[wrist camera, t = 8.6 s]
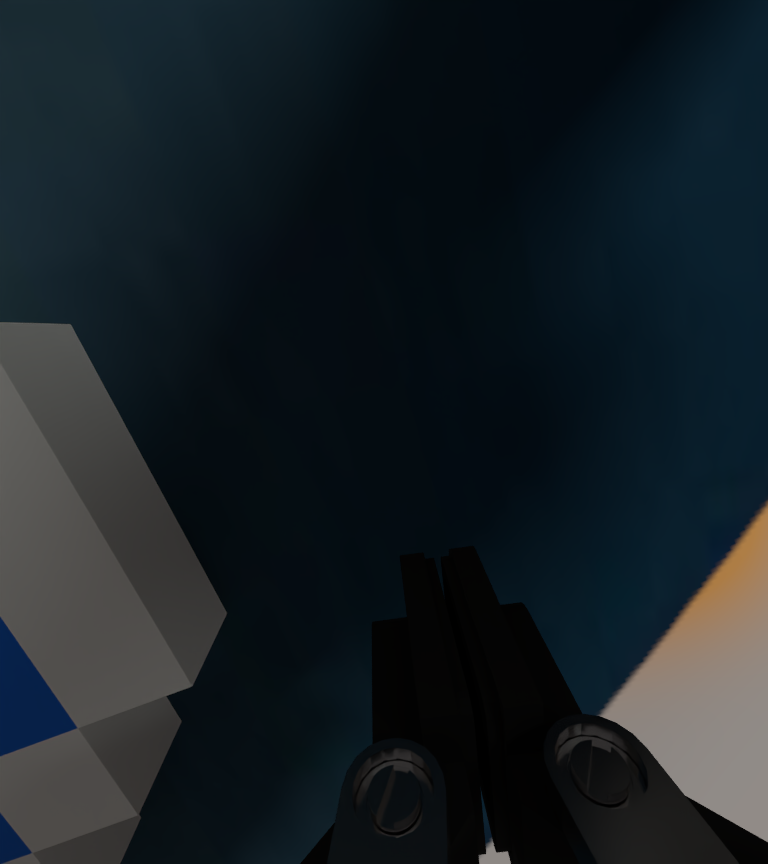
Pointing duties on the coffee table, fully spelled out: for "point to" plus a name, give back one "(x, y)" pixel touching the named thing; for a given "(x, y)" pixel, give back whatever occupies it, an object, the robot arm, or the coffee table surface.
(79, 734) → the pixel art tile
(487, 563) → the coffee table surface
